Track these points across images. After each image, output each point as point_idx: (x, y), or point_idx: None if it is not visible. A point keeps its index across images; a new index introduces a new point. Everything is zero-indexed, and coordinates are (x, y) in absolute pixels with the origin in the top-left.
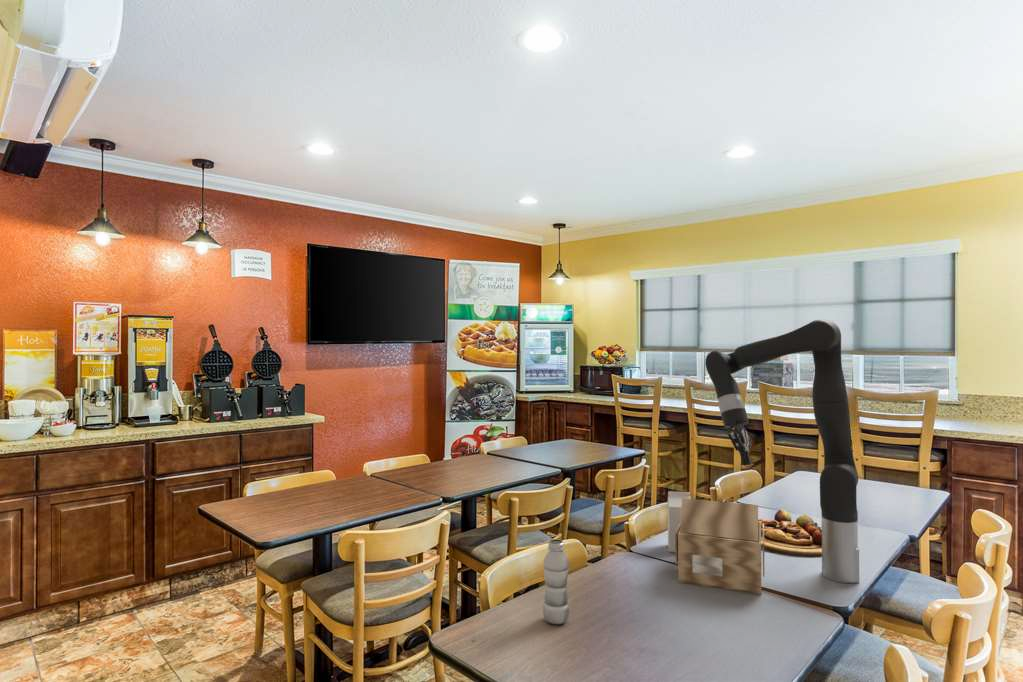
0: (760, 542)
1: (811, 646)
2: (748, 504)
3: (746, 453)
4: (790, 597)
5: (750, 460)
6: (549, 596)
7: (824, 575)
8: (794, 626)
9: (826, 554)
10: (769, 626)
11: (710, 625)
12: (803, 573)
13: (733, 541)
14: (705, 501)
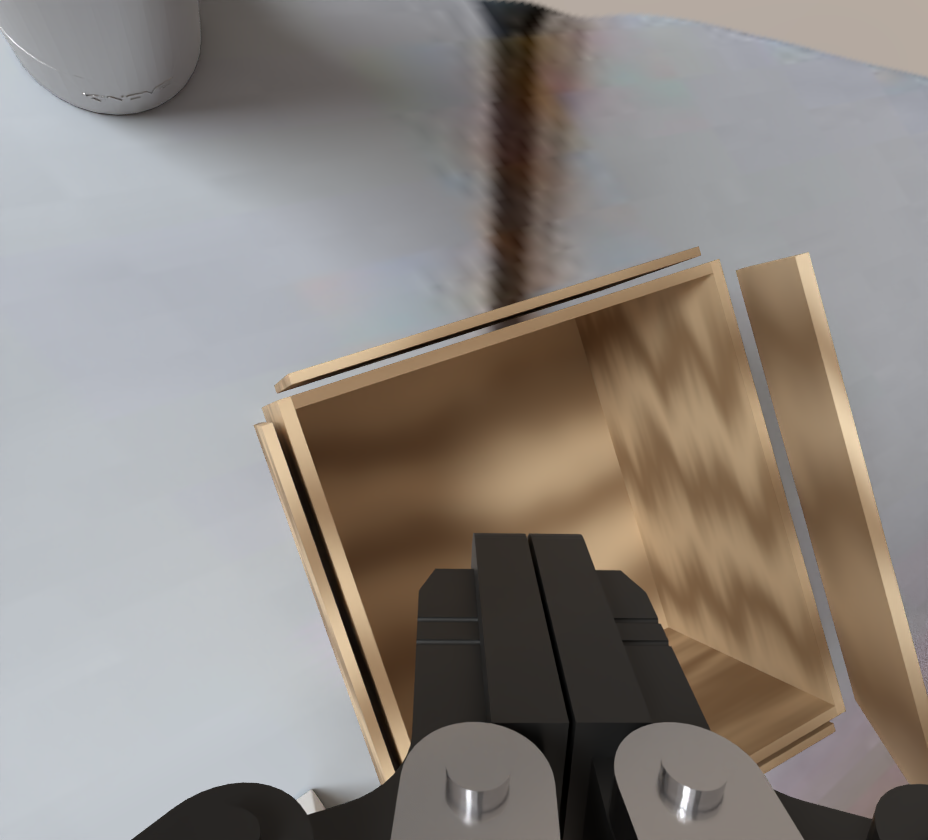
0: (704, 267)
1: (824, 71)
2: (829, 331)
3: (640, 708)
4: (523, 199)
5: (502, 566)
6: None
7: (172, 93)
8: (740, 139)
9: (176, 13)
10: (787, 211)
11: (884, 371)
12: (188, 203)
13: (756, 409)
14: (915, 669)
